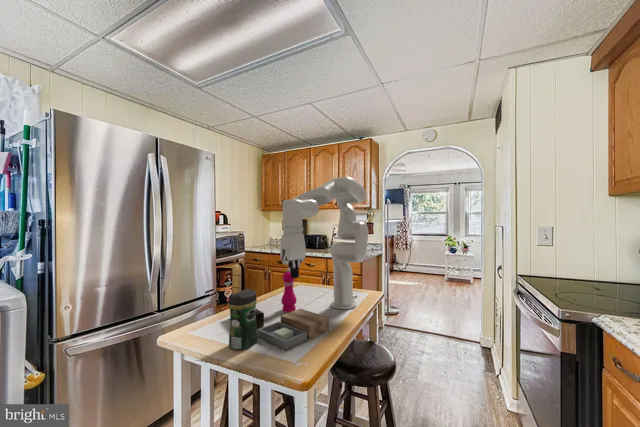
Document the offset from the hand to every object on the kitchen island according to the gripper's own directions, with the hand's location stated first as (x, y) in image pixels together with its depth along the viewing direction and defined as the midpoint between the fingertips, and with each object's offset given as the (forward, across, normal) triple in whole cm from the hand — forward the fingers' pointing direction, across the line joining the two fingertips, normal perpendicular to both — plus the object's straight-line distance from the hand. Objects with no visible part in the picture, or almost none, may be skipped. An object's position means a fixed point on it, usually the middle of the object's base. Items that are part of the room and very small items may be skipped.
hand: (294, 277), depth 105 cm
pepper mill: (+21, -14, -20) cm, 32 cm away
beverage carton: (+21, +8, -22) cm, 32 cm away
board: (+21, -2, +2) cm, 21 cm away
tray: (+20, +9, +2) cm, 22 cm away
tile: (+18, +8, +2) cm, 20 cm away
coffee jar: (+20, +20, -5) cm, 29 cm away
